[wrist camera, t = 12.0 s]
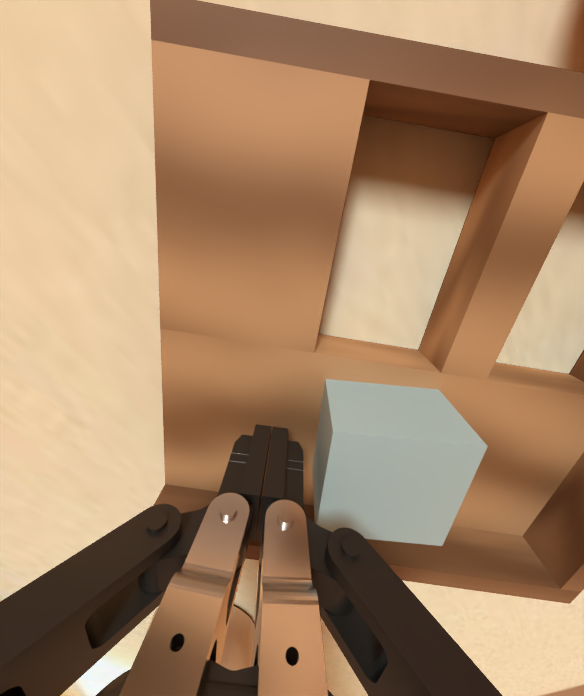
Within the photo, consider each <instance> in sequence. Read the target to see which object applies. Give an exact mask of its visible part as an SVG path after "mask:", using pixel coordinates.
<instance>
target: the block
mask: <svg viewBox="0 0 584 696" xmlns="http://www.w3.org/2000/svg"><path fill="white" fill-rule="evenodd" d="M487 447H488V446H487V445H486V444H485V442H484V441H483V440H482V439H481V438H480V437H479V435H478V434H477V433H476V432H475V431H474V430H473V429H472V427H471V426H470V425H469V424H468V423H467V422H466V420H465V419H464V418H463V417H462V416H461V415H460V413H459V412H458V411H457V410H456V409H455V408H454V406H453V405H452V404H451V403H450V402H449V401H448V400H447V398H446V397H445V396H444V395H443V394H442V393H441V391H440V390H439V389H428V388H417V387H406V386H396V385H385V384H374V383H364V382H353V381H342V380H331V379H325V384H324V391H323V398H322V404H321V411H320V418H319V424H318V431H317V438H316V445H315V451H314V458H313V465H312V466H313V493H314V519H315V524H317V525H319V526H320V527H322V528H324V529H327V530H329V531H331V532H333V531H335V530H336V529H338V528H351V529H353V530H355V531H357V532H359V533H360V534H361V535H362V536H363V537H364V538H365V539H373V540H383V541H394V542H404V543H415V544H425V545H436V546H443V543H444V541H445V539H446V537H447V535H448V532H449V530H450V528H451V526H452V524H453V521H454V519H455V517H456V515H457V513H458V510H459V508H460V506H461V504H462V502H463V500H464V497H465V495H466V493H467V491H468V489H469V486H470V484H471V482H472V480H473V478H474V475H475V473H476V471H477V469H478V467H479V465H480V462H481V460H482V458H483V456H484V454H485V451H486V449H487Z"/></svg>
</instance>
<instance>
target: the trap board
mask: <svg viewBox="0 0 584 696" xmlns="http://www.w3.org/2000/svg"><path fill="white" fill-rule="evenodd" d="M150 8H151V40H152V72H153V104H154V137H155V169H156V201H157V233H158V265H159V297H160V329H161V361H162V393H163V425H164V457H165V486H164V488H163V489H162V491H161V493H160V495H159V497H158V498H157V500H156V502H155V504H154V505H158V504H170V505H173V506H175V507H176V508H177V509H178V510H179V512H180V513H185V512H191V511H196V510H199V509H202V508H204V507H206V506H208V505H209V504H210V503H211V502H212V501H213V500H214V499H215V498H216V496H217V495H218V492H219V490H220V486H221V483H222V480H223V477H224V474H225V471H226V468H227V465H228V462H229V459H230V455H231V453H232V449H233V446H234V443H235V441H236V440H237V439H238V438H239V437H240V436H241V435H242V434H243V435H250V436H253V433H254V429H255V425H256V424H258V425H266V426H272V427H271V435H272V428H273V426H274V427H281V428H288V441H296V442H299V444H300V445H301V447H302V449H303V502H304V509H305V511H306V513H307V515H308V517H309V518H310V519H311V520H312V521H313V522H314V523H315V519H314V493H313V466H312V465H313V458H314V451H315V445H316V438H317V431H318V424H319V418H320V411H321V404H322V398H323V391H324V384H325V379H331V380H342V381H353V382H364V383H374V384H385V385H396V386H406V387H417V388H428V389H439V390H440V391H441V393H442V394H443V395H444V396H445V397H446V398H447V400H448V401H449V402H450V403H451V404H452V405H453V406H454V408H455V409H456V410H457V411H458V412H459V413H460V415H461V416H462V417H463V418H464V419H465V420H466V422H467V423H468V424H469V425H470V426H471V427H472V429H473V430H474V431H475V432H476V433H477V434H478V435H479V437H480V438H481V439H482V440H483V441H484V442H485V444H486V445H487V446H488V447H487V449H486V451H485V454H484V456H483V458H482V460H481V462H480V465H479V467H478V469H477V471H476V473H475V475H474V478H473V480H472V482H471V484H470V486H469V489H468V491H467V493H466V495H465V497H464V500H463V502H462V504H461V506H460V508H459V510H458V513H457V515H456V517H455V519H454V521H453V524H452V526H451V528H450V530H449V532H448V535H447V537H446V539H445V541H444V543H443V546H436V545H425V544H415V543H404V542H394V541H383V540H373V539H366V540H367V541H368V542H369V544H370V545H371V546H372V547H373V548H374V549H375V550H376V552H377V553H378V554H379V555H380V556H381V557H382V558H383V560H384V561H385V562H386V563H387V564H388V565H389V566H390V568H391V569H392V570H393V571H394V572H395V573H396V574H397V576H398V577H399V578H400V579H401V580H405V581H412V582H419V583H426V584H433V585H440V586H448V587H455V588H462V589H469V590H476V591H483V592H491V593H498V594H505V595H512V596H519V597H526V598H533V599H541V600H548V601H555V602H562V603H569V604H570V603H571V602H572V601H573V600H574V599H575V598H576V596H577V595H578V594H579V593H580V592H581V591H582V590H583V589H584V352H583V353H582V355H581V356H580V358H579V360H578V361H577V363H576V365H575V366H574V368H573V369H572V371H571V373H570V374H564V373H558V372H552V371H546V370H539V369H533V368H527V367H521V366H514V365H508V364H502V363H496V359H497V357H498V355H499V353H500V351H501V349H502V347H503V345H504V343H505V341H506V339H507V337H508V335H509V333H510V331H511V329H512V327H513V325H514V323H515V321H516V319H517V317H518V314H519V312H520V310H521V308H522V306H523V304H524V302H525V300H526V298H527V296H528V294H529V292H530V290H531V288H532V286H533V284H534V282H535V280H536V278H537V276H538V274H539V272H540V270H541V267H542V265H543V263H544V261H545V259H546V257H547V255H548V253H549V251H550V249H551V247H552V245H553V243H554V241H555V239H556V237H557V235H558V233H559V231H560V229H561V227H562V225H563V222H564V220H565V218H566V216H567V214H568V212H569V210H570V208H571V206H572V204H573V202H574V200H575V198H576V196H577V194H578V192H579V190H580V188H581V186H582V184H583V182H584V73H582V72H577V71H572V70H566V69H561V68H556V67H550V66H545V65H540V64H534V63H529V62H523V61H518V60H513V59H507V58H502V57H497V56H491V55H486V54H481V53H475V52H470V51H465V50H459V49H454V48H449V47H443V46H438V45H432V44H427V43H422V42H416V41H411V40H406V39H400V38H395V37H390V36H384V35H379V34H374V33H368V32H363V31H358V30H352V29H347V28H341V27H336V26H331V25H325V24H320V23H315V22H309V21H304V20H299V19H293V18H288V17H283V16H277V15H272V14H267V13H261V12H256V11H251V10H245V9H240V8H234V7H229V6H224V5H218V4H213V3H208V2H202V1H197V0H150ZM362 115H368V116H373V117H379V118H385V119H390V120H396V121H401V122H407V123H412V124H418V125H424V126H429V127H435V128H440V129H446V130H451V131H457V132H462V133H468V134H474V135H479V136H485V137H490V138H495V141H494V143H493V146H492V149H491V152H490V154H489V157H488V160H487V163H486V166H485V168H484V171H483V174H482V177H481V179H480V182H479V185H478V188H477V190H476V193H475V196H474V199H473V201H472V204H471V207H470V210H469V212H468V215H467V218H466V221H465V223H464V226H463V229H462V232H461V234H460V237H459V240H458V243H457V245H456V248H455V251H454V254H453V256H452V259H451V262H450V265H449V267H448V270H447V273H446V276H445V279H444V281H443V284H442V287H441V290H440V292H439V295H438V298H437V301H436V303H435V306H434V309H433V312H432V314H431V317H430V320H429V323H428V325H427V328H426V331H425V334H424V336H423V339H422V342H421V345H420V347H419V350H414V349H408V348H402V347H396V346H389V345H383V344H377V343H371V342H364V341H358V340H352V339H346V338H339V337H333V336H327V335H321V334H318V331H319V326H320V321H321V316H322V312H323V307H324V302H325V297H326V292H327V287H328V282H329V277H330V272H331V267H332V262H333V258H334V253H335V248H336V243H337V238H338V233H339V228H340V223H341V218H342V213H343V208H344V204H345V199H346V194H347V189H348V184H349V179H350V174H351V169H352V164H353V159H354V154H355V150H356V145H357V140H358V135H359V130H360V125H361V120H362ZM271 435H270V441H271ZM269 448H270V443H269ZM268 454H269V450H268ZM267 461H268V457H267ZM266 467H267V464H266ZM265 474H266V471H265ZM264 480H265V477H264ZM263 487H264V483H263ZM262 494H263V490H262ZM261 501H262V496H261ZM260 508H261V503H260ZM259 516H260V509H259ZM259 516H258V522H257V528H256V535H255V541H254V540H249V543H248V549H247V554H246V558H247V559H254V560H259V556H260V548H261V541H256V538H257V531H258V523H259Z"/></svg>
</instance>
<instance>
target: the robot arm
mask: <svg viewBox="0 0 584 696" xmlns="http://www.w3.org/2000/svg"><path fill="white" fill-rule="evenodd" d="M271 427H272V426H266V425H258V424H256V425H255V429H254V433H253V436H250V435H243V434H242V435H241V436H240V437H239V438H238V439H237V440H236V441H235V443H234V446H233V449H232V453H231V455H230V459H229V462H228V465H227V468H226V471H225V474H224V477H223V480H222V483H221V486H220V490H219V492H218V495H217V496H216V498H215V499H214V500H213V501H212V502H211V503H210V504H209V505H208V506H206V507H204V508H202V509H199V510H196V511H191V512H185V513H180V512H179V510H178V509H177V508H176V507H175V506H173V505H170V504H158V505H154V506H152V507H150V508H148V509H146V510H145V511H143V512H141V513H140V514H138V515H137V516H135V517H134V518H132V519H130V520H129V521H127V522H126V523H124V524H122V525H121V526H119V527H118V528H116V529H115V530H113V531H111V532H110V533H108V534H107V535H105V536H103V537H102V538H100V539H99V540H97V541H96V542H94V543H92V544H91V545H89V546H88V547H86V548H85V549H83V550H81V551H80V552H78V553H77V554H75V555H73V556H72V557H70V558H69V559H67V560H66V561H64V562H62V563H61V564H59V565H58V566H56V567H55V568H53V569H51V570H50V571H48V572H47V573H45V574H43V575H42V576H40V577H39V578H37V579H36V580H34V581H32V582H31V583H29V584H28V585H26V586H25V587H23V588H21V589H20V590H18V591H17V592H15V593H13V594H12V595H10V596H9V597H7V598H6V599H4V600H2V601H1V602H0V696H60V695H61V694H62V693H63V692H64V691H65V690H67V689H68V688H69V687H70V686H71V685H72V684H73V683H74V682H75V681H76V680H78V679H79V678H80V677H81V676H82V675H83V674H84V673H85V672H86V671H87V670H88V669H90V668H91V667H92V666H93V665H94V664H95V663H96V662H97V661H98V660H99V659H101V658H102V657H103V656H104V655H105V654H106V653H107V652H108V651H109V650H110V649H112V648H113V647H114V646H115V645H116V644H117V643H118V642H119V641H120V640H121V639H122V638H124V637H125V636H126V635H127V634H128V633H129V632H130V631H131V630H132V629H133V628H135V627H136V626H137V625H138V624H139V623H140V622H141V621H142V620H143V619H144V618H146V617H147V616H148V615H149V614H150V613H151V612H152V611H153V610H154V609H155V608H156V607H158V606H159V607H158V609H157V610H156V611H155V613H154V615H153V618H152V621H151V623H150V626H149V628H148V631H147V633H146V636H145V638H144V641H143V643H142V645H141V647H140V650H139V652H138V654H137V656H136V658H135V661H134V663H133V665H132V667H131V669H130V670H128V671H127V672H125V673H123V674H122V675H120V676H119V677H117V678H116V679H115V680H113V681H112V682H111V683H109V684H108V685H107V686H106V687H105V688H104V689H102V690H101V691H100V692H99V693H98V694H97V695H96V696H333V695H332V694H331V693H330V692H329V691H328V690H327V680H326V670H325V661H324V651H323V641H322V631H321V622H320V616H321V618H322V620H323V621H324V623H325V624H326V626H327V628H328V629H329V631H330V633H331V634H332V636H333V638H334V639H335V641H336V643H337V644H338V646H339V648H340V649H341V651H342V653H343V654H344V656H345V657H346V659H347V661H348V662H349V664H350V666H351V667H352V669H353V671H354V672H355V674H356V676H357V677H358V679H359V681H360V682H361V684H362V686H363V687H364V689H365V690H366V692H367V694H368V695H369V696H502V695H501V693H500V692H499V691H498V690H497V689H496V688H495V687H494V685H493V684H492V683H491V682H490V681H489V680H488V679H487V677H486V676H485V675H484V674H483V673H482V672H481V671H480V669H479V668H478V667H477V666H476V665H475V664H474V663H473V661H472V660H471V659H470V658H469V657H468V656H467V655H466V653H465V652H464V651H463V650H462V649H461V648H460V647H459V645H458V644H457V643H456V642H455V641H454V640H453V639H452V637H451V636H450V635H449V634H448V633H447V632H446V631H445V629H444V628H443V627H442V626H441V625H440V624H439V623H438V621H437V620H436V619H435V618H434V617H433V616H432V615H431V613H430V612H429V611H428V610H427V609H426V608H425V607H424V605H423V604H422V603H421V602H420V601H419V600H418V599H417V597H416V596H415V595H414V594H413V593H412V592H411V591H410V589H409V588H408V587H407V586H406V585H405V584H404V582H403V581H402V580H401V579H400V578H399V577H398V576H397V574H396V573H395V572H394V571H393V570H392V569H391V568H390V566H389V565H388V564H387V563H386V562H385V561H384V560H383V558H382V557H381V556H380V555H379V554H378V553H377V552H376V550H375V549H374V548H373V547H372V546H371V545H370V544H369V542H368V541H367V540H366V539H365V538H364V537H363V536H362V535H361V534H360V533H359V532H357V531H355V530H353V529H351V528H338V529H336V530H335V531H333V532H331V531H329V530H327V529H324V528H322V527H320V526H319V525H317V524H315V523H314V522H313V521H312V520H311V519H310V518H309V517H308V515H307V513H306V511H305V509H304V502H303V449H302V447H301V445H300V444H299V442H296V441H288V428H281V427H274V426H273V428H272V435H271ZM270 435H271V441H270ZM269 443H270V448H269ZM268 450H269V454H268ZM267 457H268V461H267ZM266 464H267V467H266ZM265 471H266V474H265ZM264 477H265V480H264ZM263 483H264V487H263ZM262 490H263V494H262ZM261 496H262V501H261ZM260 503H261V508H260ZM259 509H260V516H259ZM258 516H259V523H258V531H257V538H256V541H261V548H260V556H259V563H258V574H257V590H256V605H255V620H254V623H253V622H252V620H251V618H250V617H249V616H248V615H247V614H246V613H244V612H243V611H241V610H240V609H239V608H237V607H235V606H233V605H234V600H235V596H236V592H237V588H238V584H239V580H240V576H241V572H242V568H243V564H244V560H245V558H246V554H247V549H248V543H249V540H254V541H255V535H256V528H257V522H258Z"/></svg>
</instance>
